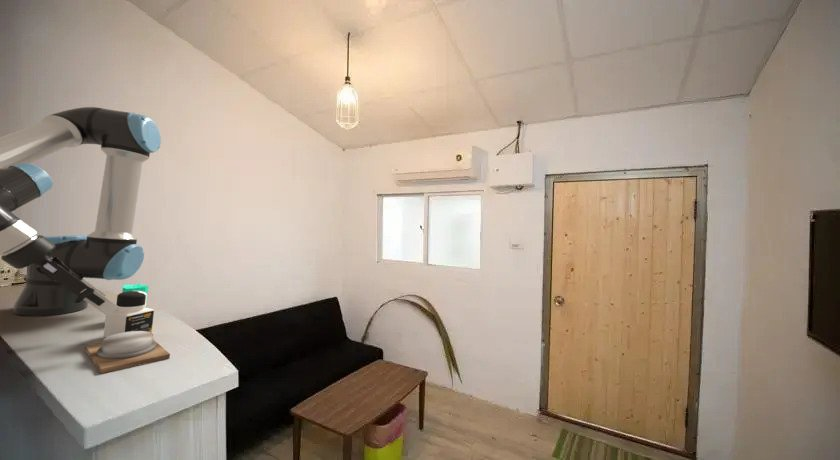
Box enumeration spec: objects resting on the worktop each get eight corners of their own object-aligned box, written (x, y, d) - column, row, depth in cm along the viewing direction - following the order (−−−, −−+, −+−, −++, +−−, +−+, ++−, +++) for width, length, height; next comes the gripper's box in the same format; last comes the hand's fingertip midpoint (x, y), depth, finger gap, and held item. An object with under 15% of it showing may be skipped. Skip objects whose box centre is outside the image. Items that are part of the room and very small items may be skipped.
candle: (148, 320, 99) (152, 282, 99) (122, 324, 94) (126, 283, 94) (141, 315, 102) (145, 278, 102) (116, 319, 97) (120, 280, 97)
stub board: (84, 349, 76) (86, 333, 76) (148, 338, 86) (149, 324, 86) (100, 373, 67) (102, 355, 67) (169, 358, 77) (171, 341, 77)
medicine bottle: (123, 342, 82) (128, 296, 82) (102, 337, 84) (107, 292, 84) (152, 334, 89) (156, 291, 89) (132, 329, 91) (136, 288, 91)
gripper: (-4, 249, 74) (81, 304, 87) (0, 266, 60) (102, 330, 72) (34, 228, 79) (110, 284, 91) (47, 240, 64) (135, 304, 76)
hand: (106, 304), depth 82 cm, fingers open, 13 cm apart
